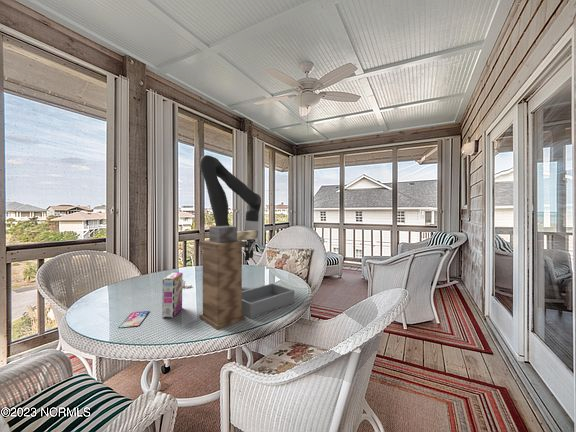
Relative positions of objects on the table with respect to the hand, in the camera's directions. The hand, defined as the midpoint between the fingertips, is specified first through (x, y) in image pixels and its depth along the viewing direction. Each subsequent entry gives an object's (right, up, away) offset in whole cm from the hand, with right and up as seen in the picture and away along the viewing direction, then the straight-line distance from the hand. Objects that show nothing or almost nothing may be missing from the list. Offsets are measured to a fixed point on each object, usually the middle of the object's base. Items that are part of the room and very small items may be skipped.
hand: (249, 259), depth 142 cm
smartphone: (-41, -19, -36) cm, 58 cm away
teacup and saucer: (-38, -18, +4) cm, 42 cm away
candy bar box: (-29, -19, -29) cm, 45 cm away
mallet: (-1, +13, -31) cm, 34 cm away
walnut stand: (-6, -19, -34) cm, 40 cm away
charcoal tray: (+9, -19, -19) cm, 28 cm away
